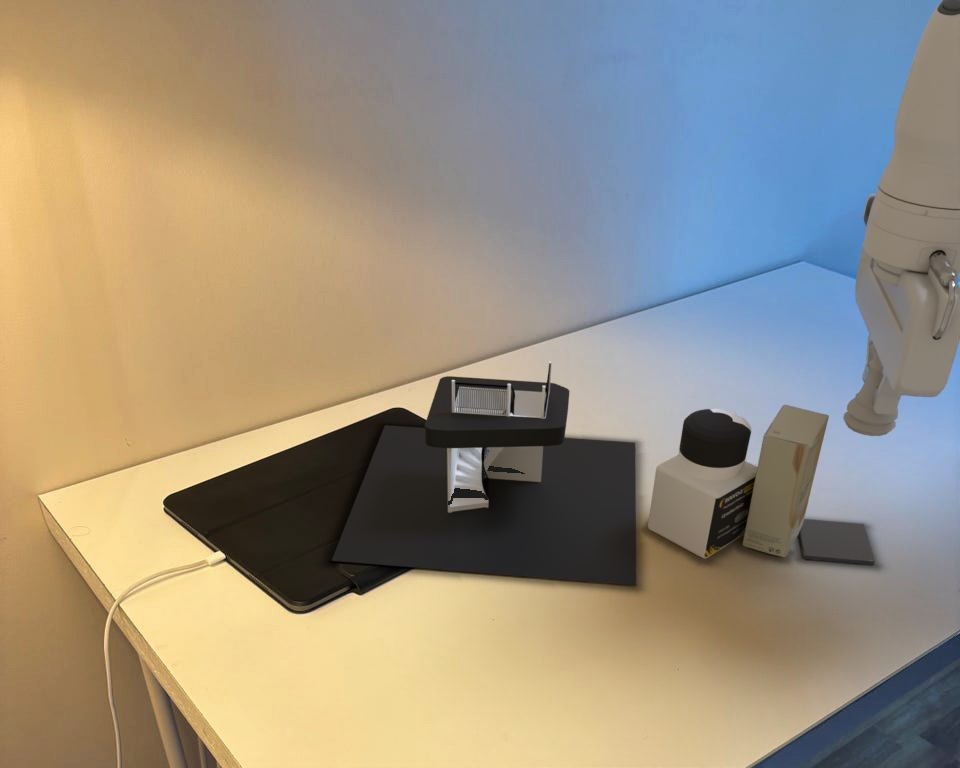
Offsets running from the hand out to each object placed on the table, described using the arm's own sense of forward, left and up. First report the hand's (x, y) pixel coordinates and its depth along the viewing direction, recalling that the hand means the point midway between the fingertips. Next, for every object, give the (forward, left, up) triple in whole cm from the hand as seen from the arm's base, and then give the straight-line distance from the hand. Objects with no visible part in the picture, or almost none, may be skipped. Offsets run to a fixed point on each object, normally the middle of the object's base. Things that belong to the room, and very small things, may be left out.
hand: (877, 397), depth 85 cm
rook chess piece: (0, 0, -3) cm, 3 cm away
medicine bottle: (+13, 0, -15) cm, 20 cm away
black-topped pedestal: (+33, -3, -15) cm, 36 cm away
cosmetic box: (+6, 0, -15) cm, 16 cm away
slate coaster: (0, 0, -15) cm, 15 cm away
